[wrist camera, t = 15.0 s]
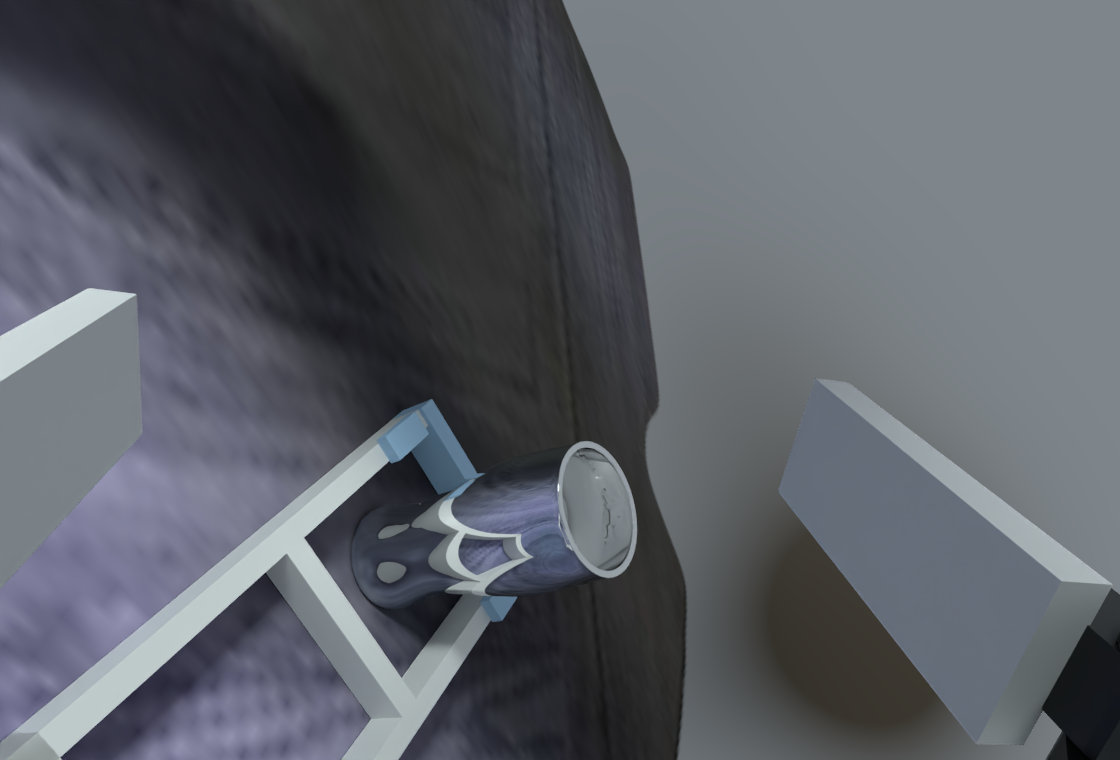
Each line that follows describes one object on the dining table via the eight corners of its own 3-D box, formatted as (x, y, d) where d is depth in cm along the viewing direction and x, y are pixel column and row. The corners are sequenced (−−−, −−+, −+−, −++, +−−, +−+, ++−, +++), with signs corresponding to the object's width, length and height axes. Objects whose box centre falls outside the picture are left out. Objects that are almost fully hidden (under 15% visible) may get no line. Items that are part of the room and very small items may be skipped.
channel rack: (195, 1002, 28) (229, 1014, 26) (-24, 762, 25) (1, 762, 23) (500, 569, 49) (528, 563, 47) (401, 411, 46) (428, 400, 44)
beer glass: (452, 566, 45) (653, 523, 37) (388, 645, 40) (608, 615, 32) (396, 476, 44) (593, 411, 36) (321, 545, 38) (535, 487, 30)
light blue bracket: (463, 626, 45) (502, 620, 43) (348, 450, 41) (385, 436, 40) (501, 571, 49) (538, 564, 47) (400, 408, 46) (436, 393, 44)
